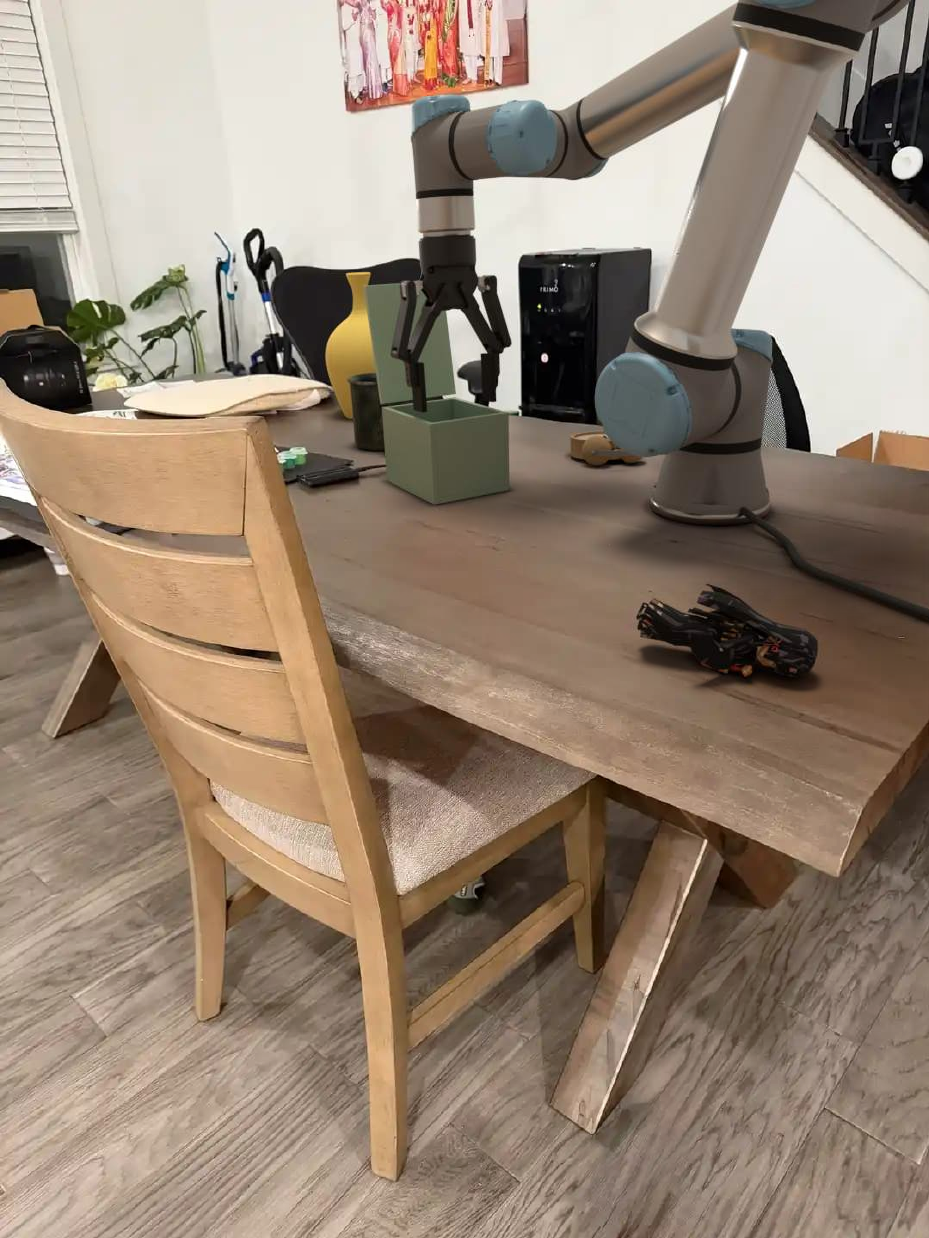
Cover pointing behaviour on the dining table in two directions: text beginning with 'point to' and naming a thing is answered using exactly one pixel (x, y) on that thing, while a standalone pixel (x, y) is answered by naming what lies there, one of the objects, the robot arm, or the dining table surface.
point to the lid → (435, 352)
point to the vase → (351, 345)
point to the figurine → (730, 635)
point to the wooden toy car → (598, 448)
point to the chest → (447, 449)
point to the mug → (368, 411)
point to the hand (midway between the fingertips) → (455, 405)
